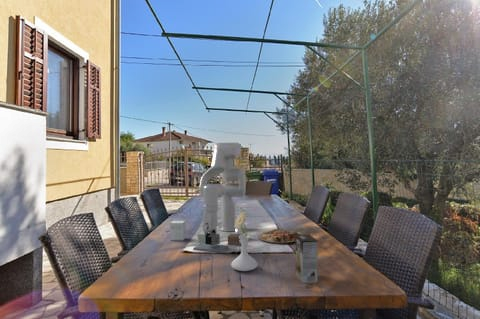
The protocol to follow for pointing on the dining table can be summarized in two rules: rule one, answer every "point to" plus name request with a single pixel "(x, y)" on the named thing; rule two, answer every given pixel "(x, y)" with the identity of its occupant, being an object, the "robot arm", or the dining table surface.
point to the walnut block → (233, 239)
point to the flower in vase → (243, 248)
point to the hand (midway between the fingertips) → (210, 242)
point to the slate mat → (210, 247)
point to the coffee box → (306, 258)
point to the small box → (177, 230)
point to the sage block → (201, 237)
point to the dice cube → (215, 239)
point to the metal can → (239, 231)
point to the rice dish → (279, 236)
